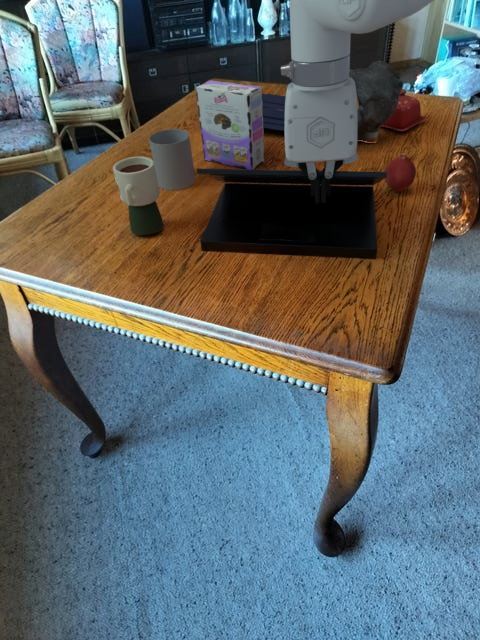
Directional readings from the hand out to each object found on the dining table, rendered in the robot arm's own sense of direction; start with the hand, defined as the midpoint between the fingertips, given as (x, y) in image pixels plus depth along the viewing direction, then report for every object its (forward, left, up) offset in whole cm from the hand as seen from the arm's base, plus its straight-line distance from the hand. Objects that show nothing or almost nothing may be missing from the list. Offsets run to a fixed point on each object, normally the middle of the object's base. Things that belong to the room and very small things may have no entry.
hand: (320, 199), depth 74 cm
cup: (+32, -25, -10) cm, 42 cm away
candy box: (+21, -36, -10) cm, 43 cm away
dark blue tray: (+14, -62, -10) cm, 64 cm away
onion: (-15, -23, -10) cm, 29 cm away
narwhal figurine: (-8, -47, -10) cm, 48 cm away
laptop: (+5, -10, -10) cm, 15 cm away
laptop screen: (+5, -11, -3) cm, 13 cm away
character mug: (+32, -5, -10) cm, 34 cm away
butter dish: (-17, -59, -10) cm, 62 cm away
